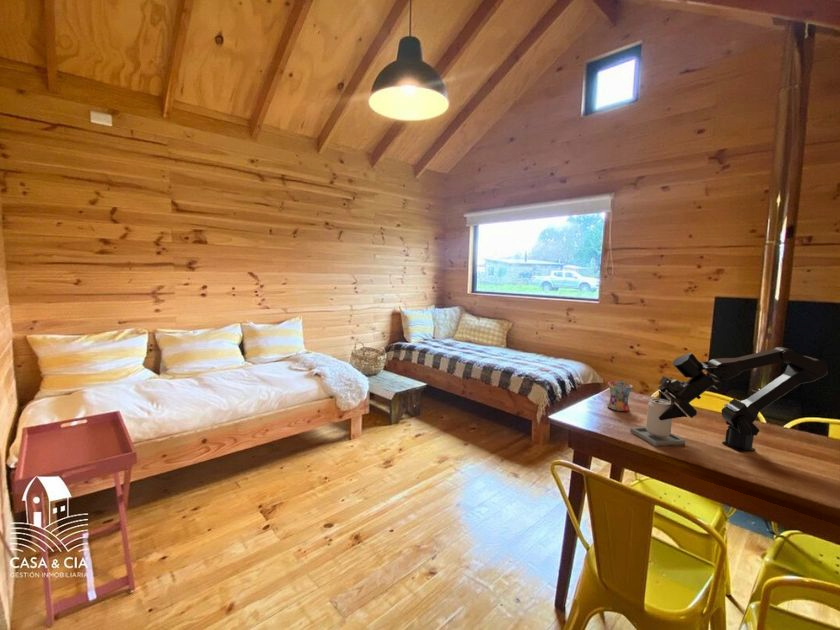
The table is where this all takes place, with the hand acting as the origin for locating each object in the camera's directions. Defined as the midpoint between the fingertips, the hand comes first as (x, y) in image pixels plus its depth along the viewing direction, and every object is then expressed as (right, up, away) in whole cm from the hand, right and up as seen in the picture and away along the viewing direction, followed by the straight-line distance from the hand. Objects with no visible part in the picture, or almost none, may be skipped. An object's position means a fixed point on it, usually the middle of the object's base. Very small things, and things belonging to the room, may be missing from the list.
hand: (655, 414), depth 135 cm
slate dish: (+1, -8, +1) cm, 8 cm away
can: (+1, -7, +1) cm, 7 cm away
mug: (+3, -5, +29) cm, 30 cm away
